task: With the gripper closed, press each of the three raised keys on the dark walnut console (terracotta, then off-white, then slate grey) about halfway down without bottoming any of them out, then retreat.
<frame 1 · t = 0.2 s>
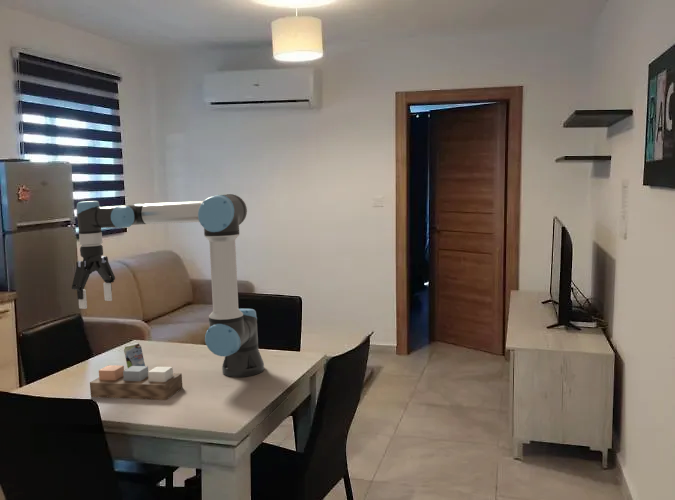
hand: (96, 304, 226), 27 cm above the table, fingers open, 13 cm apart
terracotta key: (111, 373, 215), point 6 cm above the table, slide at 0.0 cm
beverage can: (136, 376, 232), on the table
slate key: (136, 374, 213), point 6 cm above the table, slide at 0.0 cm
offwhite key: (160, 375, 211), point 6 cm above the table, slide at 0.0 cm
console: (137, 392, 214), on the table
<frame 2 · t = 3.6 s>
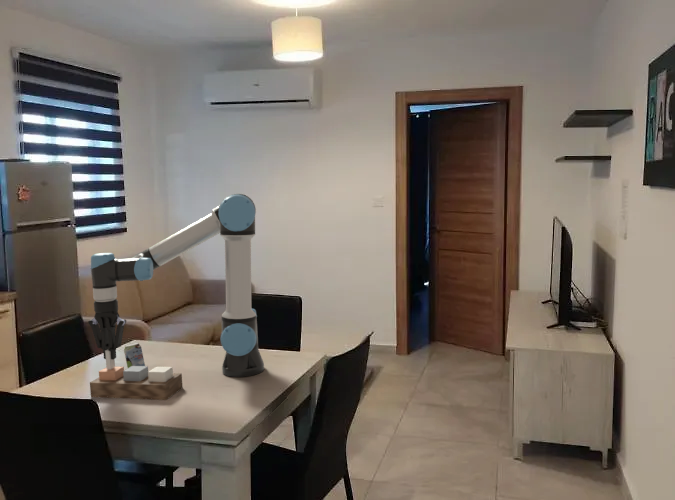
hand: (110, 368, 215), 8 cm above the table, fingers closed
terracotta key: (111, 374, 215), point 6 cm above the table, slide at 0.4 cm, touching gripper
everything else where it was.
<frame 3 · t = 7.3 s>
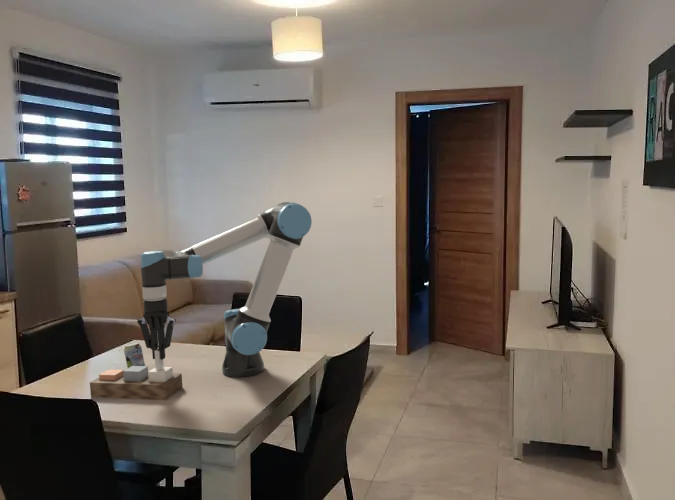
hand: (159, 368, 211), 8 cm above the table, fingers closed
terracotta key: (112, 378, 215), point 5 cm above the table, slide at 1.5 cm
offwhite key: (160, 375, 211), point 6 cm above the table, slide at 0.0 cm, touching gripper
everything else where it was.
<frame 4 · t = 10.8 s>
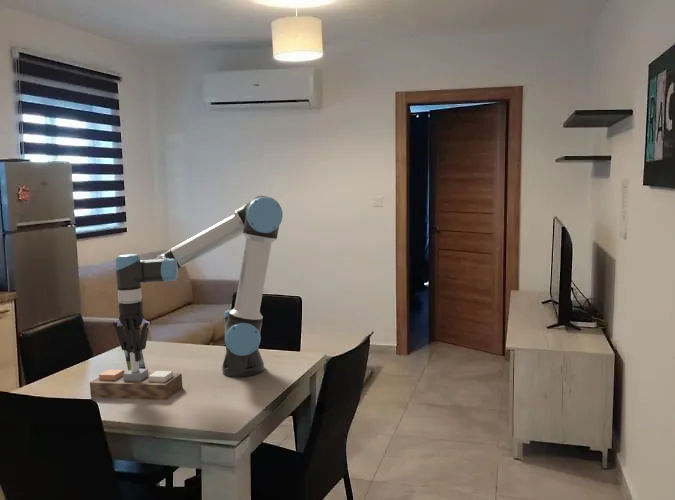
hand: (135, 370, 213), 8 cm above the table, fingers closed
slate key: (136, 377, 213), point 5 cm above the table, slide at 0.9 cm, touching gripper
offwhite key: (161, 379, 211), point 5 cm above the table, slide at 1.5 cm
everything else where it was.
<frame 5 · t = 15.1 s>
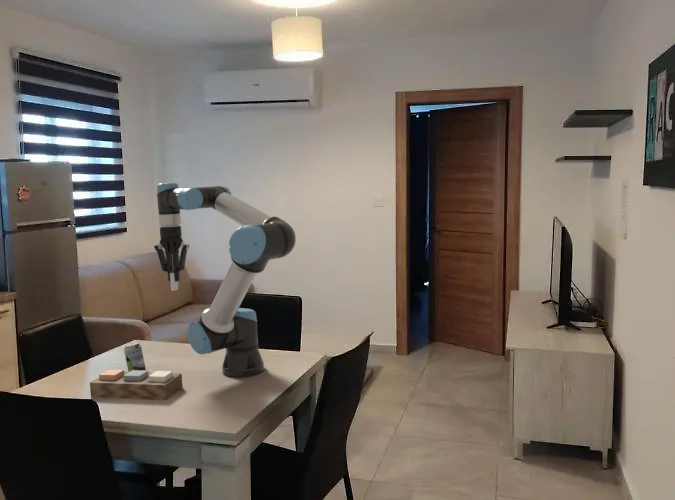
hand: (174, 290, 232), 30 cm above the table, fingers closed
slate key: (136, 378, 213), point 5 cm above the table, slide at 1.5 cm
everything else where it was.
at the end: terracotta key slide at 1.5 cm; offwhite key slide at 1.5 cm; slate key slide at 1.5 cm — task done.
